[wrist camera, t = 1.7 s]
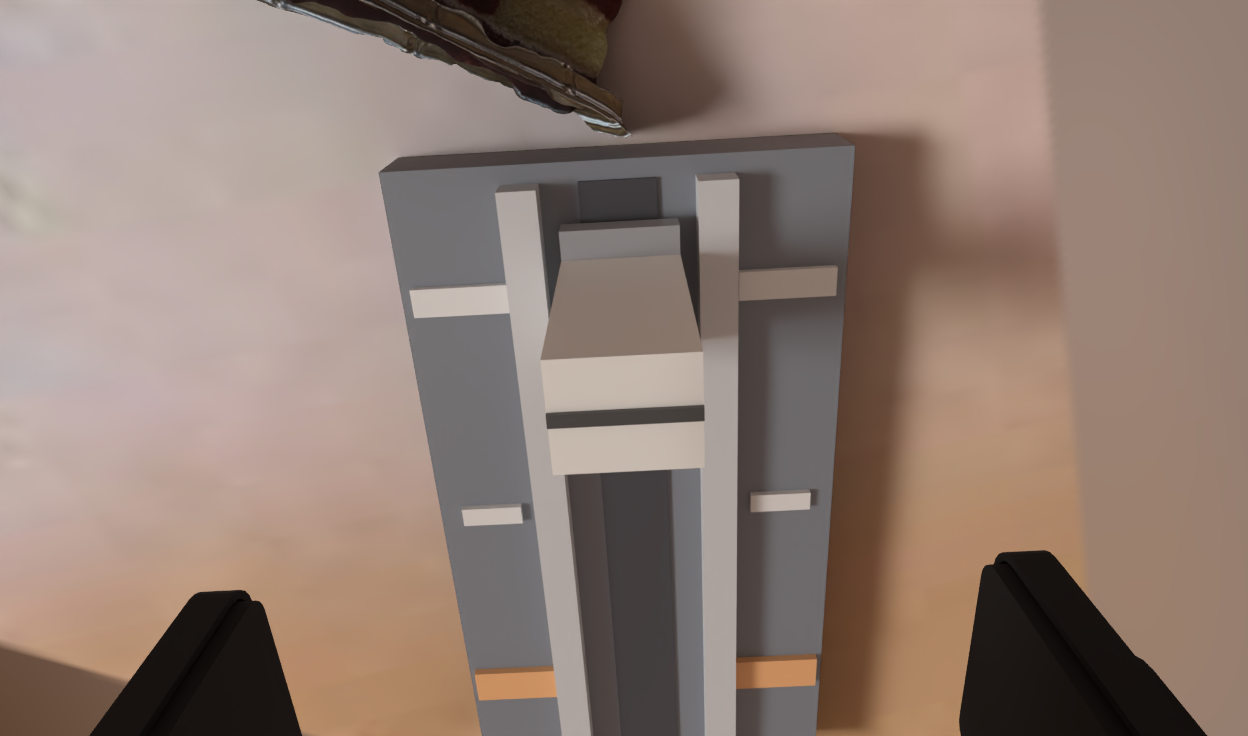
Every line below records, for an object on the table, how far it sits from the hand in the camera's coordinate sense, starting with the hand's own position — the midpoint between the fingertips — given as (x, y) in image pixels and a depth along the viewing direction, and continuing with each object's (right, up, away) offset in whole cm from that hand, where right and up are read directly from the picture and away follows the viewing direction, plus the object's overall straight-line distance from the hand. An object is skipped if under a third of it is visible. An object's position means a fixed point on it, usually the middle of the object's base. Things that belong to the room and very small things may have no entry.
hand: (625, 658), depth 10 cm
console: (0, 0, +16) cm, 16 cm away
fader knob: (0, +6, +11) cm, 12 cm away
